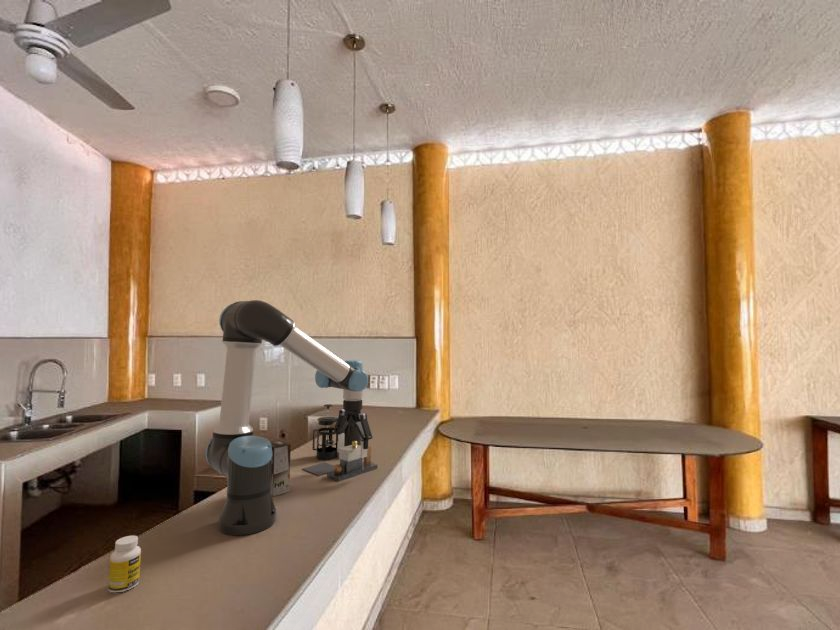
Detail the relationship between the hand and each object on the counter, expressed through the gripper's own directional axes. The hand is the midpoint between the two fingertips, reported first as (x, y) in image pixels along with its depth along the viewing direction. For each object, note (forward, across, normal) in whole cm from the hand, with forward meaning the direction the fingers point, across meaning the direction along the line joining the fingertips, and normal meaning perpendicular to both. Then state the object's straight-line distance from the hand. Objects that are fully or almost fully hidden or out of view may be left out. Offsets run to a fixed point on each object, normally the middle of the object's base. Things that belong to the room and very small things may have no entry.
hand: (352, 453), depth 160 cm
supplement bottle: (+7, -18, +79) cm, 82 cm away
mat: (+7, +12, +5) cm, 15 cm away
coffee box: (+7, +6, +29) cm, 31 cm away
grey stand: (+8, 0, -1) cm, 8 cm away
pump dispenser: (+8, +20, -17) cm, 27 cm away
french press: (+8, +24, -6) cm, 26 cm away
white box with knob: (+2, 0, 0) cm, 2 cm away
